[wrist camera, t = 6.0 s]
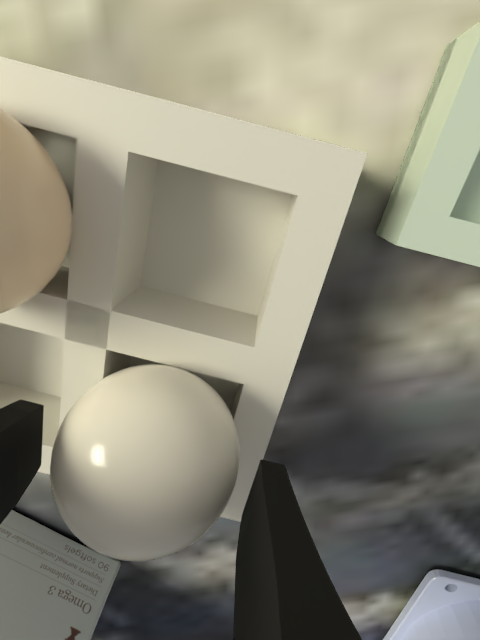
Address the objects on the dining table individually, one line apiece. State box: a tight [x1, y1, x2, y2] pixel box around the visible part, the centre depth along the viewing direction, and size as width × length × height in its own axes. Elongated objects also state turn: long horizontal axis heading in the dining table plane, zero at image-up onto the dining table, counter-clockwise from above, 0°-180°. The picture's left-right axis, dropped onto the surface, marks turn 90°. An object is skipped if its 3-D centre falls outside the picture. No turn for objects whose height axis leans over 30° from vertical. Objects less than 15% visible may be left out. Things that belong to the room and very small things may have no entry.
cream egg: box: [50, 364, 240, 561], centre depth 10 cm, size 5×5×5 cm
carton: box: [0, 57, 367, 522], centre depth 11 cm, size 12×12×3 cm
